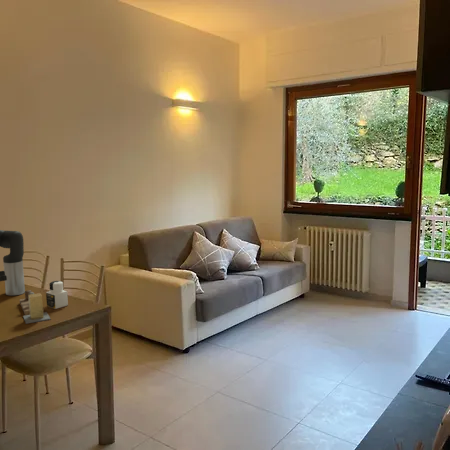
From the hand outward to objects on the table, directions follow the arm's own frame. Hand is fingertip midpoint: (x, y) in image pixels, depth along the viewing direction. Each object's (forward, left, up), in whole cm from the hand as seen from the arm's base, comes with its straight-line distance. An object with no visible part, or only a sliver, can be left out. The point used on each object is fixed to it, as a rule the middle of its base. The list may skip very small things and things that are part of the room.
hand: (5, 275), depth 205 cm
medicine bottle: (-6, +22, -20) cm, 30 cm away
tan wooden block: (+8, +11, -19) cm, 23 cm away
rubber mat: (+8, +11, -19) cm, 23 cm away
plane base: (-9, +11, -19) cm, 24 cm away
